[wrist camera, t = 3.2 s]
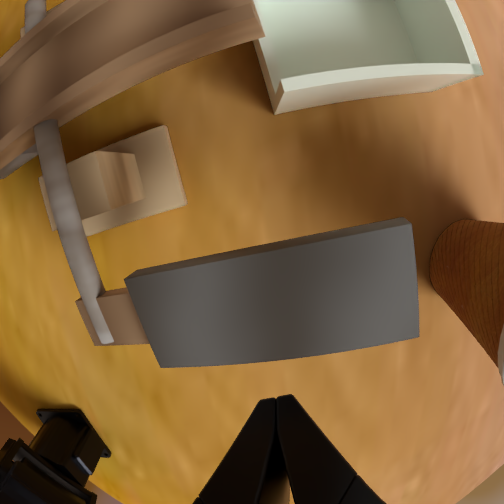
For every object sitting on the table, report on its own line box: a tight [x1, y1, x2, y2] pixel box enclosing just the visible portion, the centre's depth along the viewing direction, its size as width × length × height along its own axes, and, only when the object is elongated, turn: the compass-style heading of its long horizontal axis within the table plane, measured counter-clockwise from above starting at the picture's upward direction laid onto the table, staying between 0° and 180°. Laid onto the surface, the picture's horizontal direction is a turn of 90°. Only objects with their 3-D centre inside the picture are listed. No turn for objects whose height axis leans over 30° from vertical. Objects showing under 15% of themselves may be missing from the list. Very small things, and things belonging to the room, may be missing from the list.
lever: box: [0, 0, 419, 368], centre depth 13 cm, size 23×19×5 cm
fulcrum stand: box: [21, 0, 188, 237], centre depth 15 cm, size 8×13×6 cm, turn 14°
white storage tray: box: [252, 0, 484, 115], centre depth 14 cm, size 11×9×6 cm
